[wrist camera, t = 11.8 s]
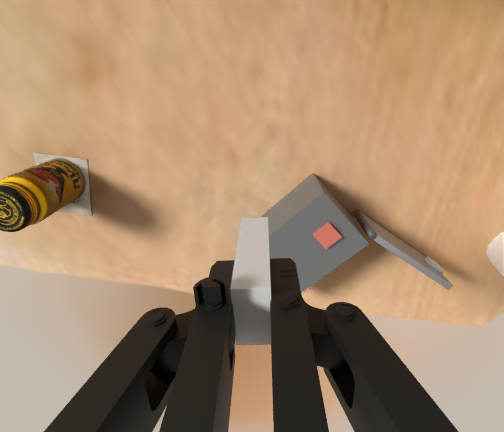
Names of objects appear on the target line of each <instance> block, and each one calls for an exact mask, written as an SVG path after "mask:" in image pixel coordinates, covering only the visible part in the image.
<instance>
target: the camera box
mask: <svg viewBox="0 0 504 432" xmlns="http://www.w3.org/2000/svg"><path fill="white" fill-rule="evenodd" d="M261 217H268V231H269V256H270V259H271V258H291V259H292V260H293V261H294V262H295V263H296V267H297V273H298V279H299V284H300V290H301V292H303V291H304V290H306V289H307V288H308V287H310V286H311V285H313V284H314V283H315V282H317V281H318V280H320V279H321V278H323V277H324V276H325V275H327V274H328V273H330V272H331V271H332V270H334V269H335V268H337V267H338V266H339V265H341V264H342V263H344V262H345V261H346V260H348V259H349V258H351V257H352V256H353V255H355V254H356V253H358V252H359V251H361V250H362V249H363V248H365V247H366V246H368V245H369V242H368V241H367V239H366V238H365V236H364V235H363V233H362V232H361V230H360V228H359V227H358V225H357V224H356V222H355V221H354V219H353V218H352V217H351V215H350V214H349V213H348V212H347V211H346V210H345V209H344V207H343V206H342V205H341V204H340V203H339V202H338V201H337V200H336V198H335V197H334V196H333V195H332V194H331V193H330V192H329V191H328V189H327V188H326V187H325V186H324V185H323V184H322V183H321V182H320V180H319V179H318V178H317V177H316V176H315V175H314V174H311V175H310V176H309V177H308V178H307V179H305V180H304V181H303V182H302V183H301V184H299V185H298V186H297V187H296V188H295V189H293V190H292V191H291V192H290V193H289V194H288V195H286V196H285V197H284V198H283V199H282V200H280V201H279V202H278V203H277V204H276V205H274V206H273V207H272V208H271V209H270V210H268V211H267V212H266V213H265V214H264V215H262V216H261Z"/></svg>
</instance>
